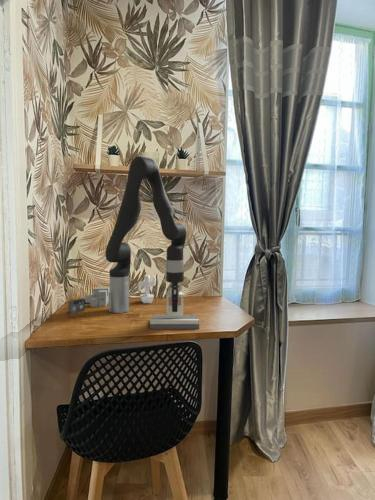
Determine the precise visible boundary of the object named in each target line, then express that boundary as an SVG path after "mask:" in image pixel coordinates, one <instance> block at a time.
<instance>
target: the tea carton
mask: <svg viewBox="0 0 375 500" xmlns="http://www.w3.org/2000/svg"><path fill="white" fill-rule="evenodd" d="M173 300H177V298H173ZM166 315H167V316H183V315H184V292H181V291H179V297H178V303H177V312H172V297H171V291H170V292H169V291H168V292H166Z"/></svg>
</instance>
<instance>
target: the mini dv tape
mask: <svg viewBox="0 0 375 500" xmlns="http://www.w3.org/2000/svg"><path fill="white" fill-rule="evenodd" d="M67 304H68V315H73V314H78V313H80V312H84V311H85V308H86V307H85V304H86V303H85V297H83V298H79V299H75V300H70V301H68V303H67Z"/></svg>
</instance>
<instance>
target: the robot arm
mask: <svg viewBox="0 0 375 500" xmlns="http://www.w3.org/2000/svg"><path fill="white" fill-rule="evenodd" d="M127 174H128V175H127V179H126V180H127V181H126V184H125V189H124V192H123V196H122V199H121V204H120V206H119V209H118V213H117V218H116V221H115V224H114V227H113V230H112V233H111V235H110V236H109V241H108V242H107V245H106V248H105V253H104V254H105V259H106V261H107V262H108V263H113V264H115V263H116V265H115V266H114V267H113V268H112V269H110V270H109V274H108V275H109V302H108V313H113V314H120V313H121V314H122V313H128V312H129V311H130V271H131V261H132V260H131V259H132V253H131V247H130V245H129V244H128V243H126V242H123V240H124V239H125V237H126V236H127V235H128V233H130V231H131V230H133V228H134V227H135V226H136V225H137V222H138V220H139V217H140V214H141V209H142V203H141V198H140V188H141V185H142V181H143V180H146V181H147V182H148V183H149V185H150V187H151V191H152V204H153V207H154V210H155V212H156V214H157V216H158V218H159V221H160V227H161V231H162V233H163V236H164V237H165V238H166V239H167V240H169V241H171V243H170V245H169V246H168V247H167V248H166V263H165V281H166V282H167V283H171V285H169V287H170V288H169V289H170V292H171V297H172V312H177V303H178V297H179V292H180V285H178V284H180V283H182V282H184V281H185V280H184V279H185V275H184V274H185V266H184V249H185V248H184V247H185V245H186V241H187V240H186V238H187V230H186V227H185V225H184V224H182V223H180V222H179V223H177V222H175V217H176V213H175V209H174V207H173V206H172V203H171V201H170V199H169V197H168V195H167V192H166V190H165V187H164V183H163V180H162V176H161V172H160V169H159V166H158V164H157V162H156V161H155V160H154V159H153V158H150V157H145V156H139V155H138V156H135V157H133V159H132V160H131V162H130V165H129V169H128V173H127ZM173 298H177V300H173Z"/></svg>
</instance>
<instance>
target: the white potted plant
mask: <svg viewBox="0 0 375 500" xmlns="http://www.w3.org/2000/svg"><path fill="white" fill-rule="evenodd" d="M143 279H144V281H143V280H142V281H141V280H140V281H139V282H138V285H137V288H138V292H142V288H143V287H144V293H141V294H140V299H141V301H142V302H141V303H143V304H152V303H153V300H154V298H155V294H154V293H150V287H155V286H156V283H157V276H155V275H153V276H152V280H150V279H151V277H150V275H149V274H145V275H144V278H143Z"/></svg>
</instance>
